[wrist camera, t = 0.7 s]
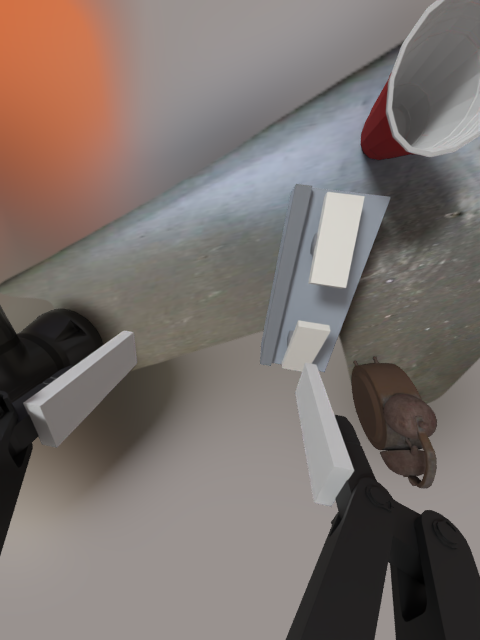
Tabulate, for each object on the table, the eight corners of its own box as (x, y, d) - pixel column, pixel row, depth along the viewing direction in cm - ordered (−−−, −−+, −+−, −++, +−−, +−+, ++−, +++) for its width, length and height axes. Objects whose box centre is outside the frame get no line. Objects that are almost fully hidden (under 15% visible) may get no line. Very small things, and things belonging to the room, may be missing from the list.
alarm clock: (381, 398, 46) (455, 510, 28) (346, 400, 47) (395, 507, 29) (387, 343, 40) (484, 438, 22) (347, 346, 41) (409, 439, 23)
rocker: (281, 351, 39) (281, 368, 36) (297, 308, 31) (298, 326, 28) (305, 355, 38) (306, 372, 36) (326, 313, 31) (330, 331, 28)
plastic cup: (413, 181, 29) (498, 154, 18) (335, 182, 30) (372, 157, 20) (445, 74, 25) (584, -44, 14) (352, 80, 26) (413, -25, 15)
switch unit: (261, 344, 44) (260, 363, 37) (290, 192, 32) (296, 184, 25) (318, 353, 43) (327, 375, 37) (371, 202, 31) (397, 196, 25)
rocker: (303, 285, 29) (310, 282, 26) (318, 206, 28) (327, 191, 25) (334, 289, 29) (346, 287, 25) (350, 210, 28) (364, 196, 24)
